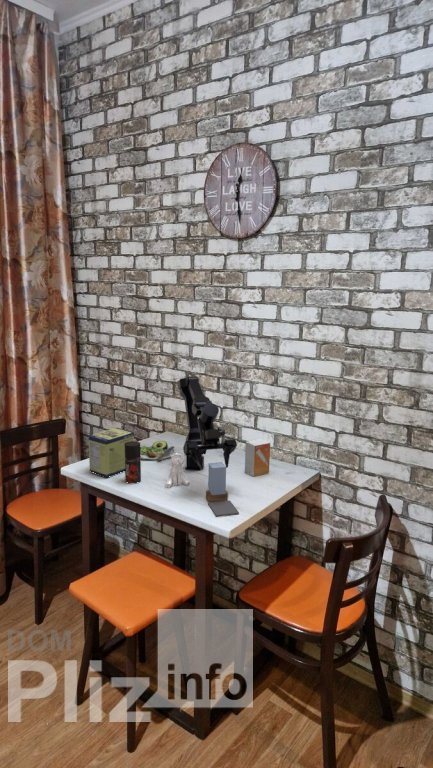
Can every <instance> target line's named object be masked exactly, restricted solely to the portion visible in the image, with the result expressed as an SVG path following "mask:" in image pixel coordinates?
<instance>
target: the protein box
mask: <svg viewBox="0 0 433 768" xmlns="http://www.w3.org/2000/svg"><path fill="white" fill-rule="evenodd" d="M130 441H135V432H134V431H131V430H127V429H124V428H120V427H113V428H110V429H107V430H104V431H100V432H97V433H94V434H89V436H88V452H89V453H88V455H89V456H88V458H89V460H88V461H89V462H88V463H89V472H90V471H91V472H94V473H96V474H99V475H101V476H100V477H102V476H104V477H103V478H105V477H109V476H112V475H114V476H116V475H115V474H117V475H119V474H121V473H120V472H122V473H124V472H123V471H125V443H126V442H130ZM118 473H119V474H118ZM96 474H95V475H96ZM99 475H98V476H99ZM112 477H113V476H112ZM109 478H110V477H109Z"/></svg>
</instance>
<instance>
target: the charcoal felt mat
mask: <svg viewBox="0 0 433 768" xmlns="http://www.w3.org/2000/svg"><path fill="white" fill-rule="evenodd" d="M207 505H208V507H209V508H210V509H211V511H212V513H213V514H214V516H215V517H216V518H218V517H227V516H237V515H240V512H239V511H238V509H237V507H236V506H235V505H234V504H233V502H232V501H231V500H228V501H220V502H211V503H207Z"/></svg>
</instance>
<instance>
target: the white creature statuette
mask: <svg viewBox="0 0 433 768" xmlns="http://www.w3.org/2000/svg"><path fill="white" fill-rule="evenodd" d="M185 457H186V455H185V454H183V455H182V453H180V452H176V453H173V455H170V457H169V458H171V462H172V463H171V464H172V465H171V467H170V470H169V474H168V479H167V480H166V482H165V486H164V487H165V488H166V489H170V488H171V487H177V486H178V487H180V486H182V487H183V486H185V487H187V488H188V487H189V488H190V486H191V481H190V480H189V479H188V478H187V477H186V476H185V475H184V473H183V472H184V470H183V467H182V464H183V463H184V458H185ZM167 487H168V488H167Z"/></svg>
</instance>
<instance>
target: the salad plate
mask: <svg viewBox="0 0 433 768" xmlns="http://www.w3.org/2000/svg"><path fill="white" fill-rule="evenodd" d="M174 449H175V446H173V445H172V446H168V443H167V441H165V440H157V441H155V442H153V443H152V445H142V446H141V445H140V453H141V461H149V462H150V461H151V462H152V461H163V460H165V459H169V458H171V457H170V455H174V451H173V450H174ZM144 456H148V457H144Z"/></svg>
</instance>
